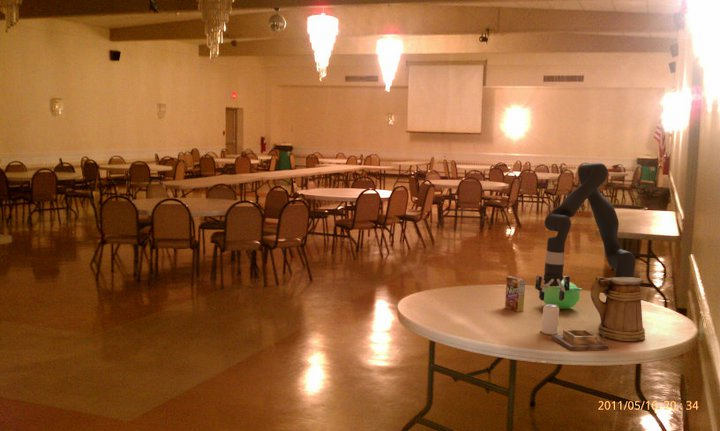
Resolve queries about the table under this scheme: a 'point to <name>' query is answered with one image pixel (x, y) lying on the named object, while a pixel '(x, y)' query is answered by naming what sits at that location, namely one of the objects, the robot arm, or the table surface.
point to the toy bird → (569, 296)
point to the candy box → (515, 293)
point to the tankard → (619, 308)
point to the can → (550, 319)
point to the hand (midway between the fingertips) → (551, 300)
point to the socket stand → (579, 340)
